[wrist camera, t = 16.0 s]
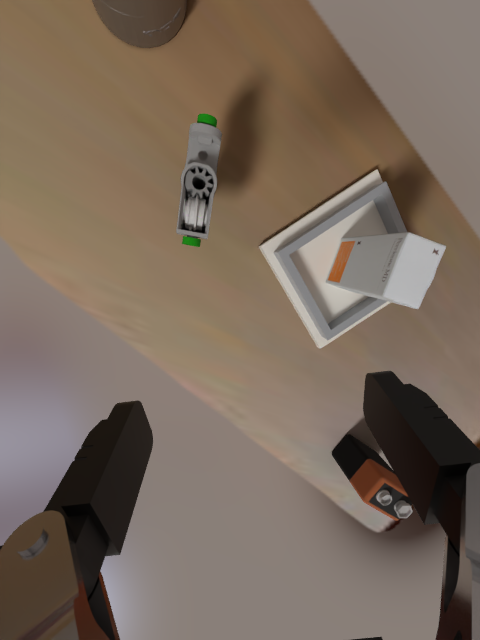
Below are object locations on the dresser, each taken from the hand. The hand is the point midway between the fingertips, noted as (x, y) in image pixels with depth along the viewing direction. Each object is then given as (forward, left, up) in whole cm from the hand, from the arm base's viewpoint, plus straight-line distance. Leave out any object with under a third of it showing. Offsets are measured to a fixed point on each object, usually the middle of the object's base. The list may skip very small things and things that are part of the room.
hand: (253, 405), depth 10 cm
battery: (+33, +5, -27) cm, 43 cm away
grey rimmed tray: (+6, +17, -26) cm, 32 cm away
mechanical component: (-10, +5, -27) cm, 29 cm away
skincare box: (+6, +16, -26) cm, 31 cm away
